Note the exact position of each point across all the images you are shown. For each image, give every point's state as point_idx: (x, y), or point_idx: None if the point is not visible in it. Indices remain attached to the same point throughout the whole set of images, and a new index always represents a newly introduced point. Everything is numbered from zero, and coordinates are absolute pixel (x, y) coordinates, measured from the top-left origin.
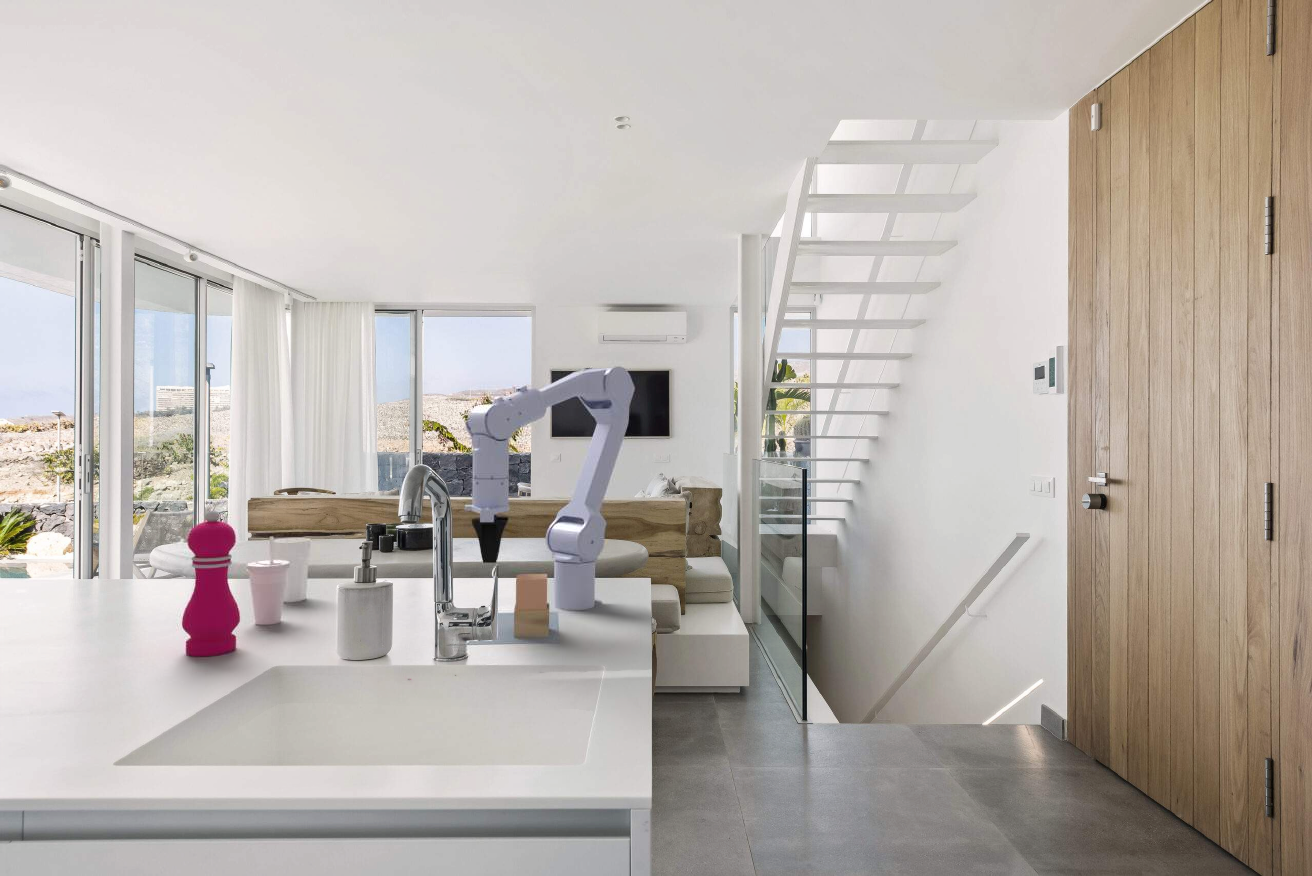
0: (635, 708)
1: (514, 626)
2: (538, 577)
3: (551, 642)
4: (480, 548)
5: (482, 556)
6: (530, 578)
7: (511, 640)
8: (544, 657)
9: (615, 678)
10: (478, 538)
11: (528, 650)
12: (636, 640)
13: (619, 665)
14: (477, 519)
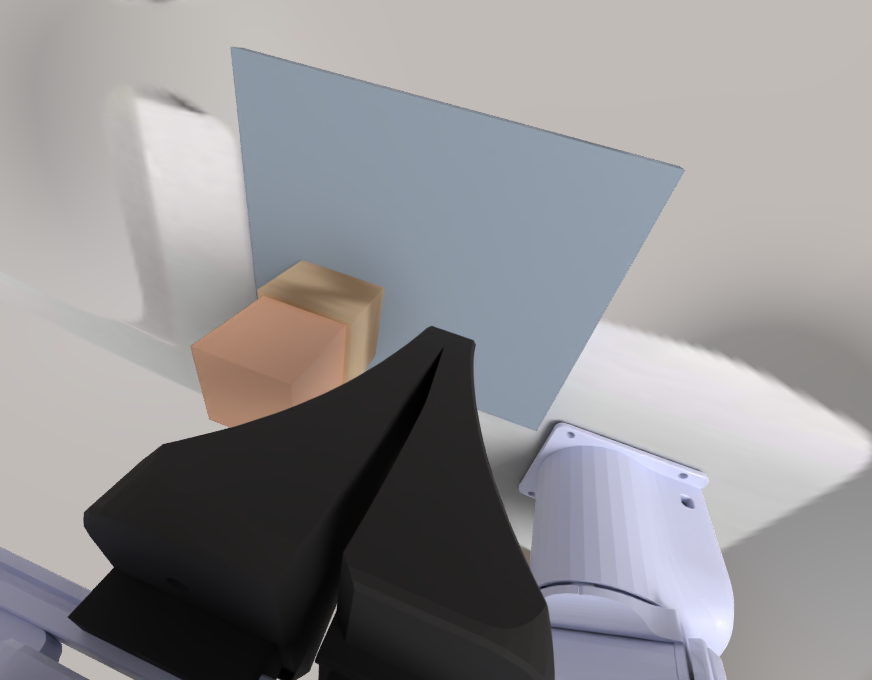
0: (23, 305)
1: (285, 272)
2: (236, 413)
3: None
4: (384, 360)
5: (414, 341)
6: (218, 389)
7: (277, 247)
8: (208, 280)
9: (121, 333)
10: (324, 395)
11: (252, 267)
12: None
13: (179, 363)
14: (155, 564)
